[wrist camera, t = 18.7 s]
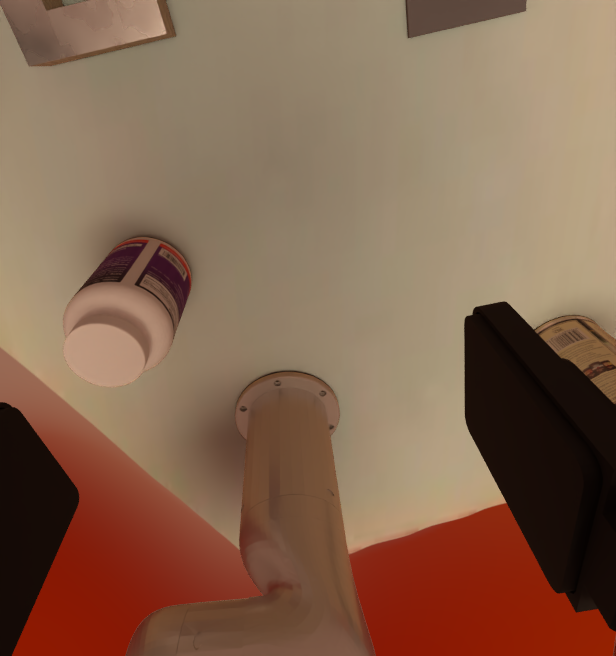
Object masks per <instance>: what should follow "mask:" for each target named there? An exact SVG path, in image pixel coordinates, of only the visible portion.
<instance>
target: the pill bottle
mask: <svg viewBox="0 0 616 656" xmlns="http://www.w3.org/2000/svg"><path fill="white" fill-rule="evenodd" d="M190 290H191V272H190V269H189V266H188V264H187V262H186V261H185V259H184V257H183V256H182V255H181V254H180V253H179V252H178V251H177V250H176V249H175V248H173V247H172V246H171V245H169V244H167V243H165V242H163V241H161V240H158V239H154V238H148V237H138V238H132V239H129V240H126V241H124V242H122V243H120V244H119V245H117V246H116V247H115V248H114V249H113V250H112V251H111V252H110V253H109V255H108V256H107V257H106V258H105V260H104V261H103V262H102V263H101V264H100V266H99V267H98V268H97V269H96V270H95V272H94V273H93V274H92V275H91V277H90V278H89V279H88V280H87V281H86V283H85V284H84V285H83V286H82V287H81V288H80V290H79V291H78V292H77V293H76V294H75V296H74V297H73V298H72V299H71V301H70V302H69V304H68V305H67V307H66V310H65V313H64V318H63V327H64V332H65V336H66V339H65V342H64V347H63V352H64V357H65V360H66V362H67V364H68V366H69V367H70V368H71V370H72V371H73V372H74V373H75V374H76V375H78V376H79V377H81V378H82V379H84V380H85V381H87V382H90V383H92V384H95V385H99V386H104V387H119V386H123V385H127V384H129V383H131V382H133V381H135V380H136V379H137V378H138V377H139V376H140V375H141V374H142V372H144V371H147V370H149V369H151V368H153V367H155V366H156V365H157V364H159V363H160V362H161V361H162V360H163V359H164V358H165V356H166V355H167V353H168V352H169V350H170V347H171V345H172V342H173V339H174V336H175V333H176V330H177V327H178V324H179V321H180V318H181V316H182V313H183V310H184V307H185V304H186V301H187V299H188V296H189V293H190Z"/></svg>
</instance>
